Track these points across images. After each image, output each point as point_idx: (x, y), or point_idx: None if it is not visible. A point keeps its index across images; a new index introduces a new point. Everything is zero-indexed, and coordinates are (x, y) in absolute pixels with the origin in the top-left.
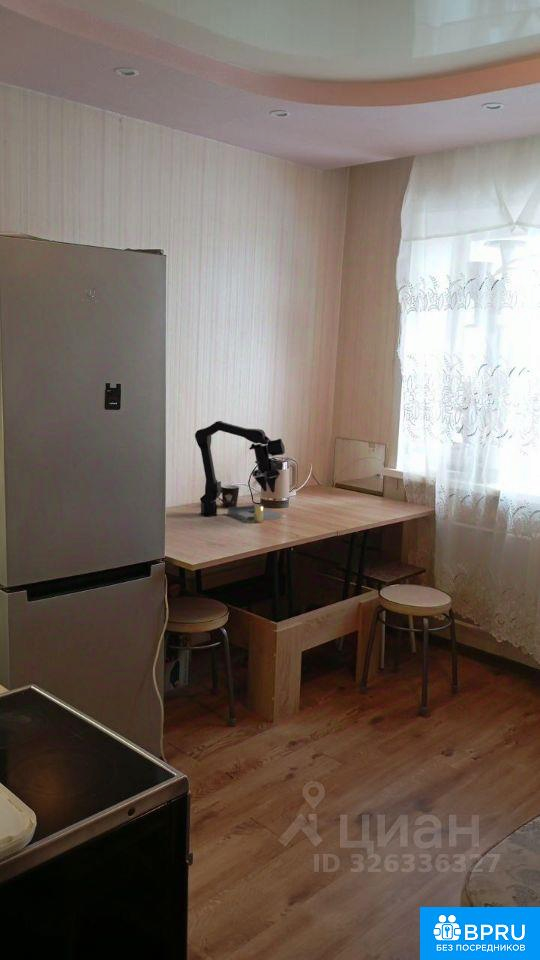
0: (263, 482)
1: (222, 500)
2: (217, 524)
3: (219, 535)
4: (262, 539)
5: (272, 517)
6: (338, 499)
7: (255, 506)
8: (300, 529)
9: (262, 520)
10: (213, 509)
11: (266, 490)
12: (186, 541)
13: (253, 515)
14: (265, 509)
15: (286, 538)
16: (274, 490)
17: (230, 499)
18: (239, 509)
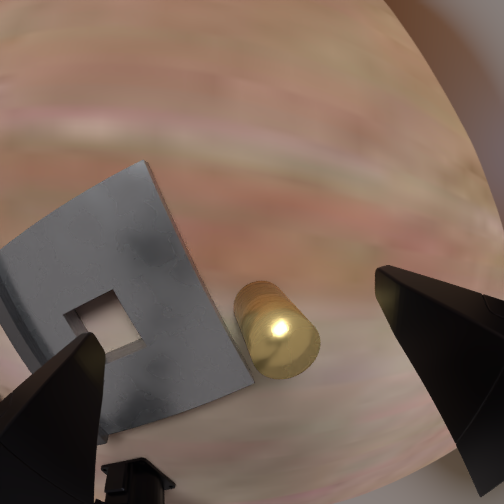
0: (52, 447)
1: None
2: (298, 450)
3: (426, 412)
4: None
5: (168, 212)
6: None
7: (283, 373)
8: (407, 116)
9: (279, 289)
10: (149, 486)
11: (90, 337)
12: (438, 448)
13: (207, 342)
14: (27, 247)
15: (491, 217)
16: (403, 270)
17: None
18: None
